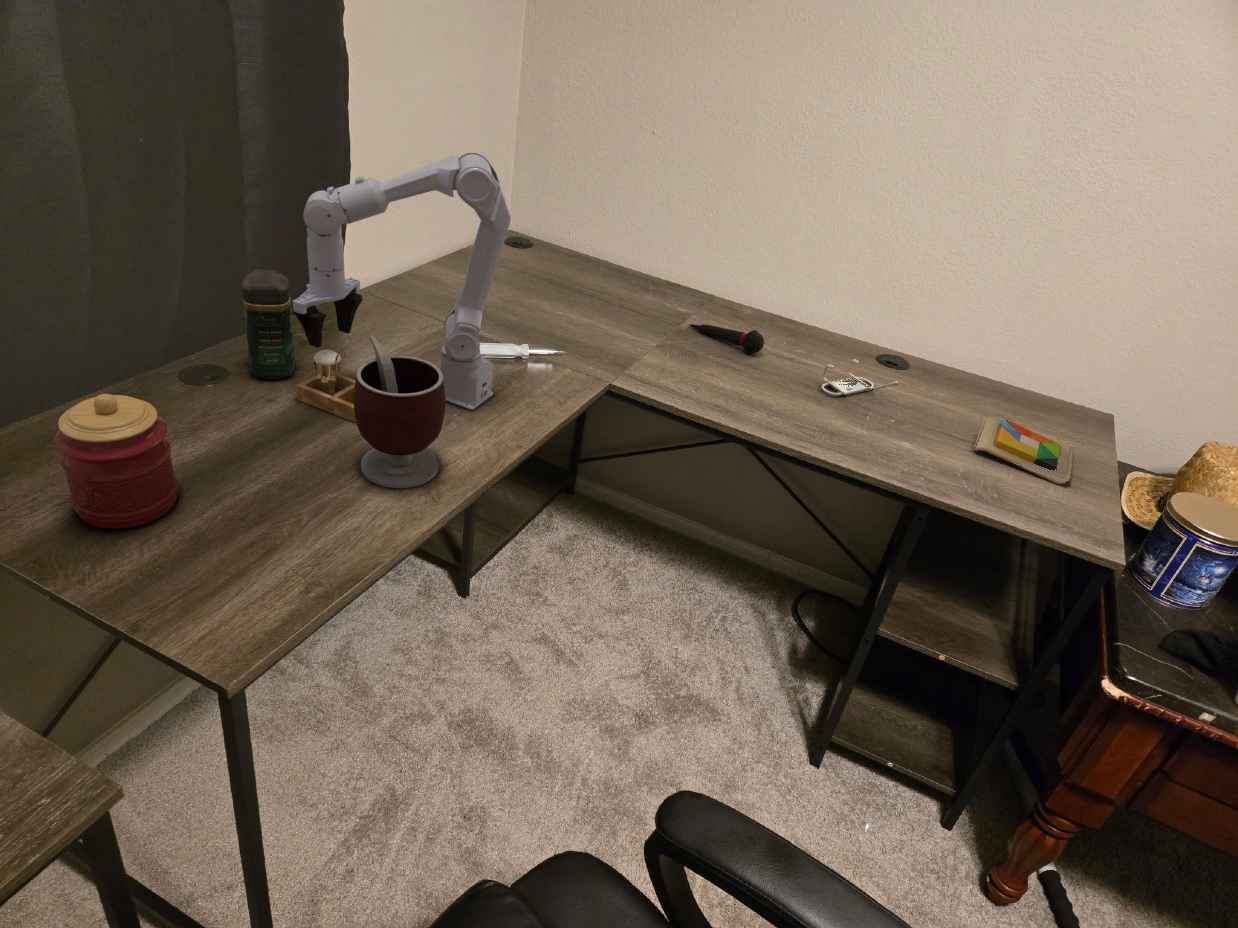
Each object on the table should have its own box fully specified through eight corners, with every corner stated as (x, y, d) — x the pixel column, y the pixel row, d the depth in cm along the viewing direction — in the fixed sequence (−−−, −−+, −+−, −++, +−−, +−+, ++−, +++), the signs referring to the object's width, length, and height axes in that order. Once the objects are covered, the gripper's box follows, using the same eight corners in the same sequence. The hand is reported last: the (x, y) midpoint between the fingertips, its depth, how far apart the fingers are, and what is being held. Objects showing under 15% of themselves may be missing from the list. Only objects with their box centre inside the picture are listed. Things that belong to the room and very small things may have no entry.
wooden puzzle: (1066, 488, 160) (1074, 474, 158) (971, 453, 166) (978, 439, 164) (1070, 453, 173) (1077, 439, 171) (982, 421, 179) (988, 408, 178)
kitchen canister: (194, 481, 120) (177, 378, 110) (155, 535, 109) (132, 426, 99) (103, 472, 118) (77, 366, 109) (54, 525, 107) (21, 414, 98)
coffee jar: (295, 381, 148) (288, 287, 138) (249, 381, 145) (238, 286, 135) (296, 357, 155) (289, 266, 145) (251, 357, 153) (241, 264, 143)
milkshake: (329, 408, 142) (326, 358, 137) (310, 396, 144) (307, 346, 139) (350, 400, 145) (348, 351, 140) (332, 388, 148) (329, 340, 142)
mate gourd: (459, 474, 132) (465, 367, 121) (384, 501, 123) (383, 388, 112) (408, 431, 140) (409, 327, 129) (334, 453, 131) (329, 344, 120)
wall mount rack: (855, 374, 190) (862, 353, 187) (898, 402, 181) (907, 379, 178) (809, 384, 182) (817, 361, 178) (853, 413, 173) (861, 390, 170)
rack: (394, 408, 145) (394, 394, 144) (366, 427, 139) (365, 412, 137) (327, 383, 149) (327, 369, 148) (297, 399, 143) (296, 385, 141)
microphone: (685, 340, 198) (757, 361, 189) (683, 321, 194) (757, 341, 185) (696, 328, 201) (768, 348, 192) (695, 309, 197) (768, 328, 188)
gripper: (336, 249, 141) (339, 319, 149) (276, 270, 130) (282, 345, 137) (369, 260, 140) (370, 330, 147) (310, 282, 128) (315, 357, 136)
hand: (330, 338), depth 142 cm, fingers open, 7 cm apart
